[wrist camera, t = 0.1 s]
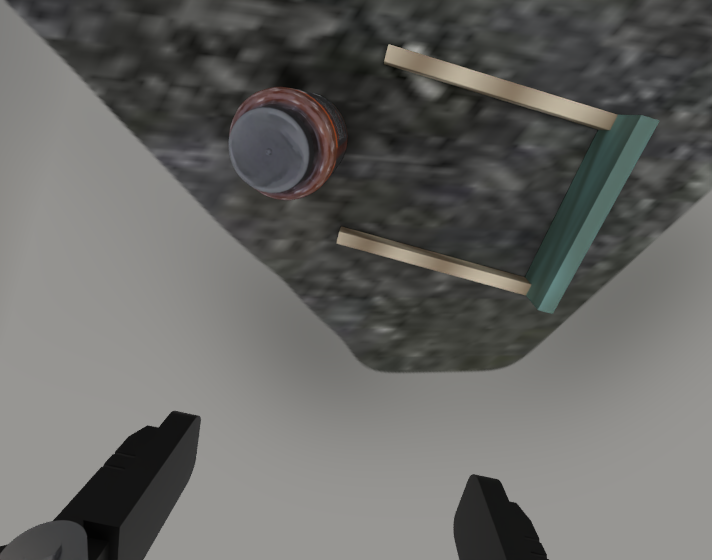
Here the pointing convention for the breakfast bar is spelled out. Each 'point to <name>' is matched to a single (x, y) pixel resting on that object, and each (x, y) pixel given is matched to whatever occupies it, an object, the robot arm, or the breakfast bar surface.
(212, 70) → the breakfast bar surface
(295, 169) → the supplement bottle
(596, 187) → the bay
